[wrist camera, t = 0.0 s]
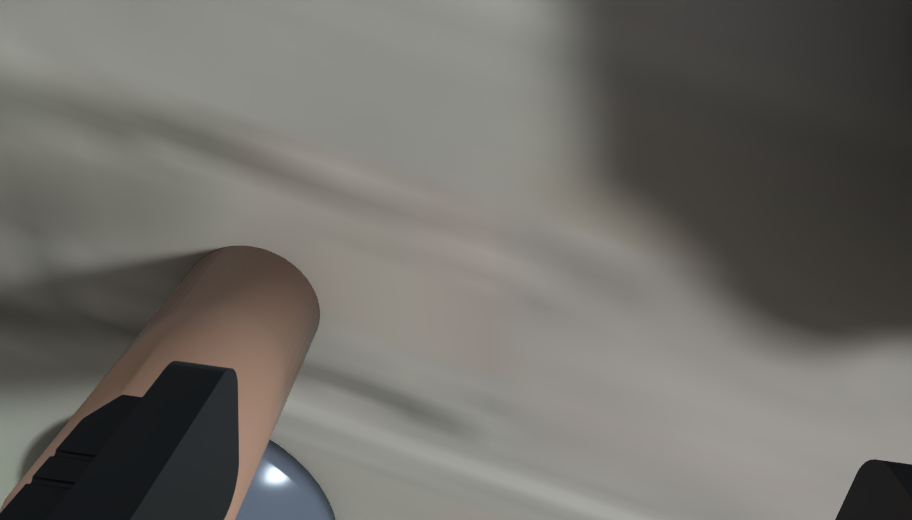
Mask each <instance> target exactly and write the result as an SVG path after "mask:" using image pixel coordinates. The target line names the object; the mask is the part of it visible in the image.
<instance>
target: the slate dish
mask: <svg viewBox="0 0 912 520" xmlns="http://www.w3.org/2000/svg"><path fill="white" fill-rule="evenodd" d="M235 520H335V516H334V513H333V511H332V508H331V506H330V503H329V501H328V499H327V497H326V496H325V494H324V492H323V491H322V489H321V487H320V486H319V484H318V483H317V482H316V480H315V479H314V478H313V477H312V475H311V474H310V473H309V472H308V471H307V470H306V469H305V468H304V467H303V466H302V465H301V464H300V463H299V462H298V461H297V460H296V459H295V458H294V457H293V456H291V455H290V454H289V453H288V452H286V451H285V450H284V449H283V448H281V447H280V446H279V445H277V444H276V443H274V442H272V441H271V440H269V442H268V444H267V447H266V449H265V451H264V454H263V456H262V458H261V461H260V463H259V465H258V468H257V470H256V472H255V475H254V477H253V479H252V481H251V484H250V486H249V488H248V491H247V493H246V495H245V498H244V500H243V502H242V505H241V507H240V509H239V511H238V514H237V516H236V518H235Z"/></svg>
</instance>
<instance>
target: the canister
mask: <svg viewBox="0 0 912 520" xmlns="http://www.w3.org/2000/svg"><path fill="white" fill-rule="evenodd" d="M319 319H320V308H319V303H318V299H317V296H316V294H315V291H314V289H313V288H312V286H311V284H310V283H309V281H308V280H307V278H306V277H305V276H304V275H303V274H302V273H301V271H299V270H298V269H297V268H296V267H295V266H294V265H293V264H291V263H290V262H288V261H287V260H286V259H284V258H282V257H280V256H279V255H277V254H274V253H272V252H270V251H267V250H263V249H260V248H255V247H249V246H231V247H225V248H221V249H218V250H215V251H213V252H211V253H209V254H207V255H206V256H204V257H203V258H202V259H200V260H199V261H198V262H197V263H196V264H195V266H194V267H193V268H192V269H191V271H190V272H189V273H188V274H187V276H186V277H185V278H184V279H183V281H182V282H181V283H180V284H179V285H178V287H177V288H176V289H175V290H174V292H173V293H172V294H171V295H170V297H169V298H168V299H167V300H166V301H165V303H164V304H163V305H162V306H161V308H160V309H159V310H158V311H157V313H156V314H155V315H154V316H153V318H152V319H151V320H150V321H149V322H148V324H147V325H146V326H145V327H144V329H143V330H142V331H141V332H140V334H139V335H138V336H137V337H136V338H135V340H134V341H133V342H132V343H131V345H130V346H129V347H128V348H127V350H126V351H125V352H124V353H123V355H122V356H121V357H120V358H119V359H118V361H117V362H116V363H115V364H114V366H113V367H112V368H111V369H110V371H109V372H108V373H107V374H106V375H105V377H104V378H103V379H102V380H101V382H100V383H99V384H98V385H97V387H96V388H95V389H94V390H93V392H92V393H91V394H90V395H89V396H88V398H87V399H86V400H85V401H84V403H83V404H82V405H81V406H80V408H79V409H78V410H77V411H76V412H75V414H74V415H73V416H72V417H71V419H70V420H69V421H68V422H67V424H66V425H65V426H64V427H63V429H62V430H61V431H60V432H59V433H58V435H57V436H56V437H55V438H54V440H53V441H52V442H51V443H50V445H49V446H48V447H47V448H46V449H45V451H44V452H43V453H42V454H41V456H40V457H39V458H38V459H37V461H36V462H35V463H34V464H33V466H32V467H31V468H30V469H29V470H28V472H27V473H26V474H25V475H24V477H23V478H22V479H21V480H20V482H19V483H18V484H17V485H16V486H15V488H14V489H13V490H12V491H11V493H10V494H9V495H8V497H7V498H6V499H5V501H4V503H3V505H2V507H1V510H0V513H1V512H2V511H3V509H4V508H5V507H6V506H7V505H8V504H9V503H10V501H11V500H12V499H13V498H14V497H15V496H16V495H17V493H18V492H19V491H20V490H21V489H22V488H23V487H24V485H25V484H26V483H27V484H30V483H31V481H32V476H33V475H34V474H35V473H36V472H37V470H38V469H39V468H40V467H41V466H42V465H43V464H44V462H45V461H46V460H47V459H48V458H49V457H50V456H54V455H55V452H56V449H57V447H58V446H59V445H60V444H61V443H62V442H63V441H64V439H65V438H66V437H67V436H68V435H69V434H70V433H71V431H72V430H73V429H74V428H75V427H76V426H77V425H78V423H79V422H80V421H81V420H82V419H83V418H84V417H86V416H88V415H89V414H91V413H93V412H94V411H96V410H97V409H99V408H101V407H102V406H104V405H106V404H107V403H109V402H111V401H112V400H114V399H116V398H117V397H119V396H121V395H129V396H137V397H143V396H144V394H145V393H146V392H147V391H148V389H149V388H150V387H151V386H152V384H153V383H154V382H155V380H156V379H157V378H158V377H159V375H160V374H161V373H162V371H163V370H164V369H165V368H166V367H167V365H168V364H169V363H171V362H172V361H182V362H190V363H197V364H204V365H211V366H218V367H226V368H233V369H234V370H235V372H236V374H237V379H238V423H239V470H238V478H237V483H236V488H235V492H234V495H233V499H232V502H231V505H230V508H229V510H228V512H227V515H226V517H225V519H224V520H235V518H236V516H237V514H238V511H239V509H240V507H241V505H242V502H243V500H244V498H245V495H246V493H247V491H248V488H249V486H250V484H251V481H252V479H253V477H254V475H255V472H256V470H257V468H258V465H259V463H260V461H261V458H262V456H263V454H264V451H265V449H266V447H267V444H268V442H269V440H270V438H271V435H272V433H273V431H274V428H275V426H276V424H277V421H278V419H279V417H280V414H281V412H282V410H283V408H284V405H285V403H286V401H287V398H288V396H289V394H290V391H291V389H292V387H293V384H294V382H295V380H296V378H297V375H298V373H299V371H300V368H301V366H302V364H303V361H304V359H305V357H306V354H307V352H308V350H309V348H310V345H311V343H312V341H313V338H314V336H315V334H316V331H317V329H318V325H319Z"/></svg>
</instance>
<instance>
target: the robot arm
mask: <svg viewBox="0 0 912 520" xmlns="http://www.w3.org/2000/svg"><path fill="white" fill-rule="evenodd" d="M238 470H239V423H238V379H237V374H236V372H235V370H234V369H233V368H226V367H218V366H211V365H204V364H197V363H190V362H182V361H172V362H171V363H169V364H168V365H167V367H166V368H165V369H164V370H163V371H162V373H161V374H160V375H159V377H158V378H157V379H156V380H155V382H154V383H153V384H152V386H151V387H150V388H149V389H148V391H147V392H146V393H145V394H144V396H143V397H137V396H129V395H121V396H119V397H117V398H116V399H114V400H112V401H111V402H109V403H107V404H106V405H104V406H102V407H101V408H99V409H97V410H96V411H94V412H93V413H91V414H89V415H88V416H86V417H84V418H83V419H82V420H81V421H80V422H79V423H78V425H77V426H76V427H75V428H74V429H73V430H72V431H71V433H70V434H69V435H68V436H67V437H66V438H65V439H64V441H63V442H62V443H61V444H60V445H59V446H58V447H57V449H56V452H55V455H54V456H50V457H49V458H48V459H47V460H46V461H45V462H44V464H43V465H42V466H41V467H40V468H39V469H38V470H37V472H36V473H35V474H34V475H33V476H32V481H31V483H30V484H27V483H26V484H25V485H24V487H23V488H22V489H21V490H20V491H19V492H18V493H17V495H16V496H15V497H14V498H13V499H12V500H11V501H10V503H9V504H8V505H7V506H6V507H5V508H4V509H3V511H2V512H1V513H0V520H224V519H225V517H226V515H227V512H228V510H229V508H230V505H231V502H232V499H233V495H234V492H235V488H236V483H237V478H238ZM835 520H912V465H911V464H904V463H896V462H889V461H882V460H875V459H874V460H869V461H867V462H866V463H864V464H863V465H862V466H861V468H860V469H859V471H858V472H857V474H856V476H855V479H854V481H853V483H852V485H851V487H850V489H849V491H848V494H847V496H846V498H845V500H844V502H843V504H842V507H841V509H840V511H839V513H838V515H837V517H836V519H835Z"/></svg>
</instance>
